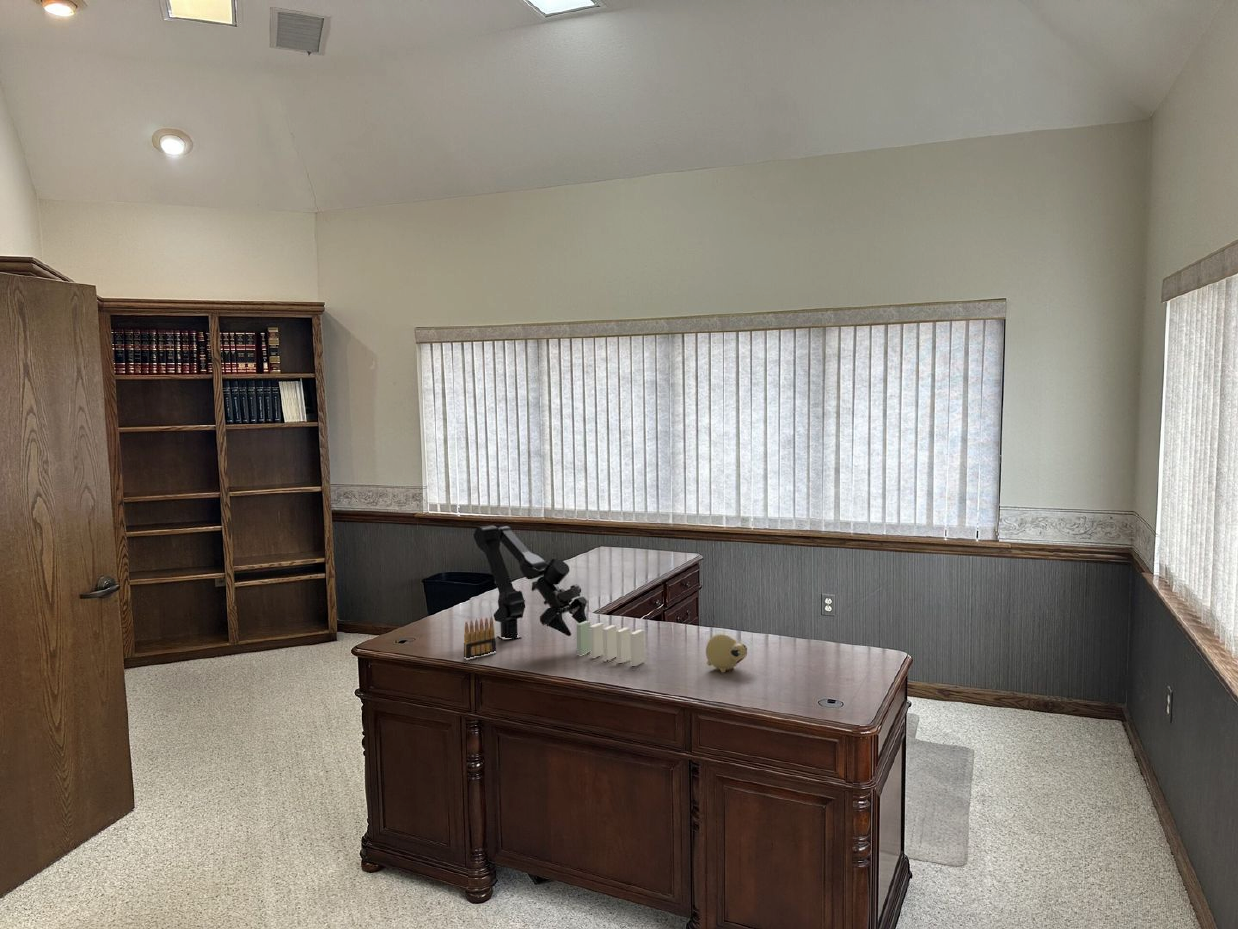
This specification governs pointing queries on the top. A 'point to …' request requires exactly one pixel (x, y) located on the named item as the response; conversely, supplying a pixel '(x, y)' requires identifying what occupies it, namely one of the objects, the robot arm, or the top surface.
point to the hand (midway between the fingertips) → (579, 631)
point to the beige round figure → (724, 652)
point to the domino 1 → (583, 637)
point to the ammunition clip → (479, 639)
